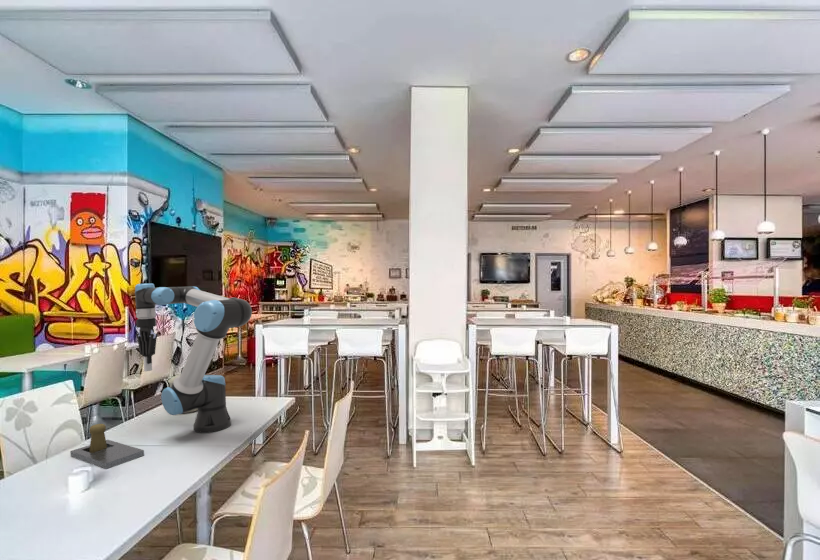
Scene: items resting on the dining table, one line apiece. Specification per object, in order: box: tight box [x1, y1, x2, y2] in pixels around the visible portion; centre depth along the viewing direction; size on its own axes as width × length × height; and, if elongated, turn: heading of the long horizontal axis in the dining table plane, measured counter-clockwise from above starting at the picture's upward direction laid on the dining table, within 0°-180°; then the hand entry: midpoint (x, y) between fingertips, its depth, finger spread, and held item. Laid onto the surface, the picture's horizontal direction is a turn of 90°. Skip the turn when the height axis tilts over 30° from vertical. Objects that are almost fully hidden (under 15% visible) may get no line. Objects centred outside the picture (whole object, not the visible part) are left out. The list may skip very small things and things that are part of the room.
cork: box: [89, 423, 107, 453], centre depth 169 cm, size 6×6×11 cm
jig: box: [70, 439, 145, 470], centre depth 165 cm, size 26×13×2 cm, turn 60°
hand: (148, 370), depth 195 cm, fingers closed
